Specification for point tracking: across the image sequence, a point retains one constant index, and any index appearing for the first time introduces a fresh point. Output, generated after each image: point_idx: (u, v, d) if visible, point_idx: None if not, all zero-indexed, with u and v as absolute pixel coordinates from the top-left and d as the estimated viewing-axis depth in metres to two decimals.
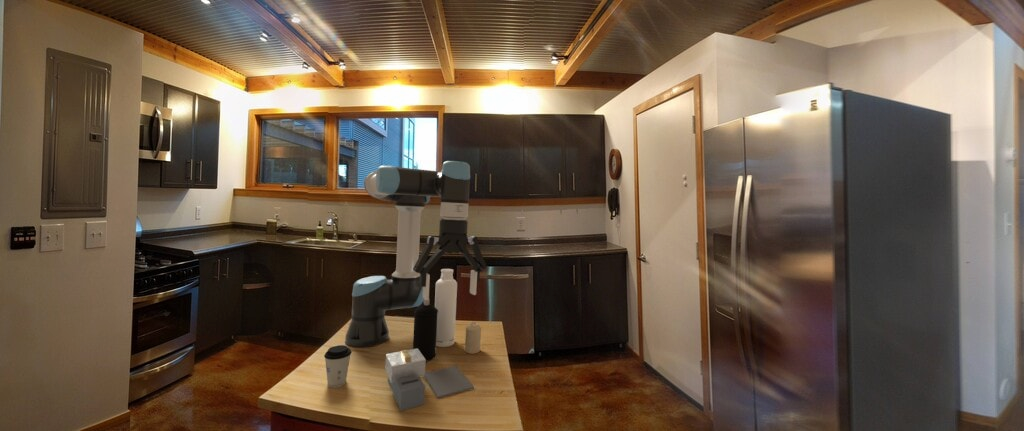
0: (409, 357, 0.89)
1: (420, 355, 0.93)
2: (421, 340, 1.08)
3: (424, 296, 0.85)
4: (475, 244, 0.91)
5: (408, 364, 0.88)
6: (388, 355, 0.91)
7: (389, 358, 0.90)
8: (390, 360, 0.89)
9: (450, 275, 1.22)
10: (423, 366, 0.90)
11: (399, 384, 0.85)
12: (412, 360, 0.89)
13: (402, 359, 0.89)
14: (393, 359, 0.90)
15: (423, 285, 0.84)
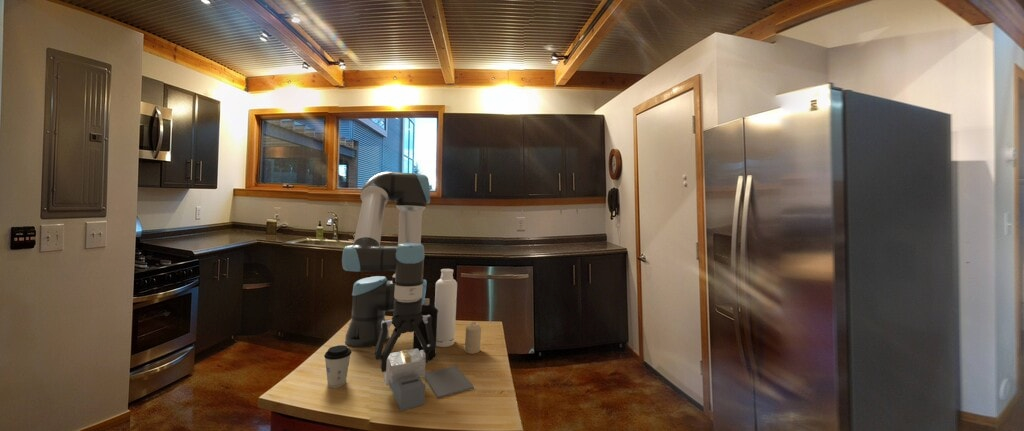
0: (409, 357, 0.89)
1: (420, 355, 0.93)
2: None
3: (385, 380, 0.88)
4: (429, 324, 0.93)
5: (408, 364, 0.88)
6: None
7: (389, 358, 0.90)
8: (390, 360, 0.89)
9: (450, 275, 1.22)
10: (423, 366, 0.90)
11: (399, 384, 0.85)
12: (412, 360, 0.89)
13: (402, 359, 0.90)
14: (393, 359, 0.90)
15: (383, 370, 0.88)
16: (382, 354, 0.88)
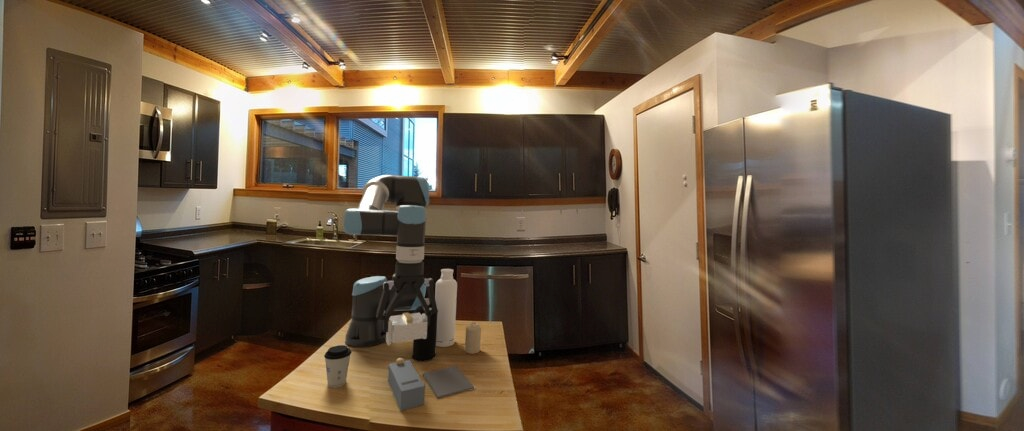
0: (411, 318, 0.89)
1: (422, 317, 0.93)
2: (421, 340, 1.08)
3: (386, 341, 0.88)
4: (430, 287, 0.93)
5: (410, 325, 0.88)
6: (390, 317, 0.91)
7: (391, 320, 0.90)
8: (392, 321, 0.89)
9: (450, 275, 1.22)
10: (425, 328, 0.90)
11: (399, 384, 0.85)
12: (414, 322, 0.89)
13: (404, 321, 0.89)
14: (395, 320, 0.89)
15: (385, 331, 0.88)
16: (384, 315, 0.88)
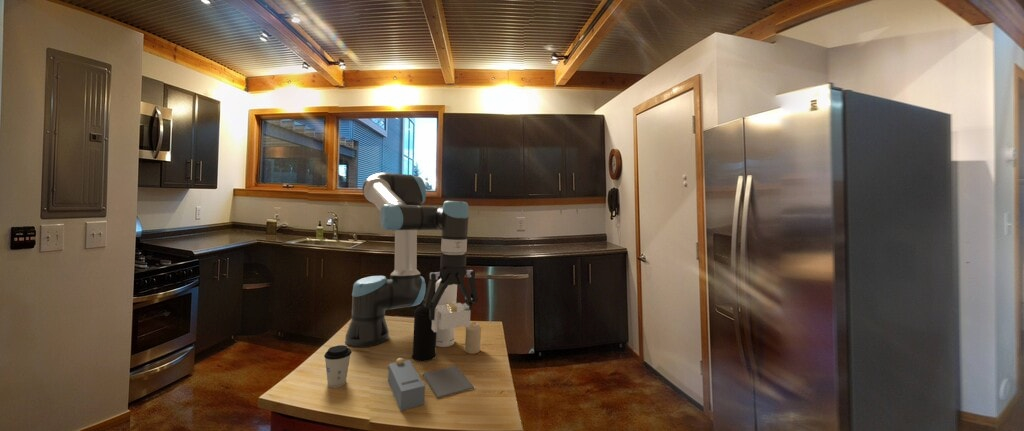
0: (455, 307, 0.95)
1: (464, 307, 0.98)
2: (421, 340, 1.08)
3: (433, 328, 0.94)
4: (472, 278, 0.99)
5: (455, 313, 0.93)
6: None
7: None
8: (438, 310, 0.94)
9: None
10: (468, 316, 0.95)
11: (399, 384, 0.85)
12: (458, 310, 0.94)
13: (449, 309, 0.95)
14: (440, 309, 0.95)
15: (432, 319, 0.93)
16: (431, 304, 0.93)
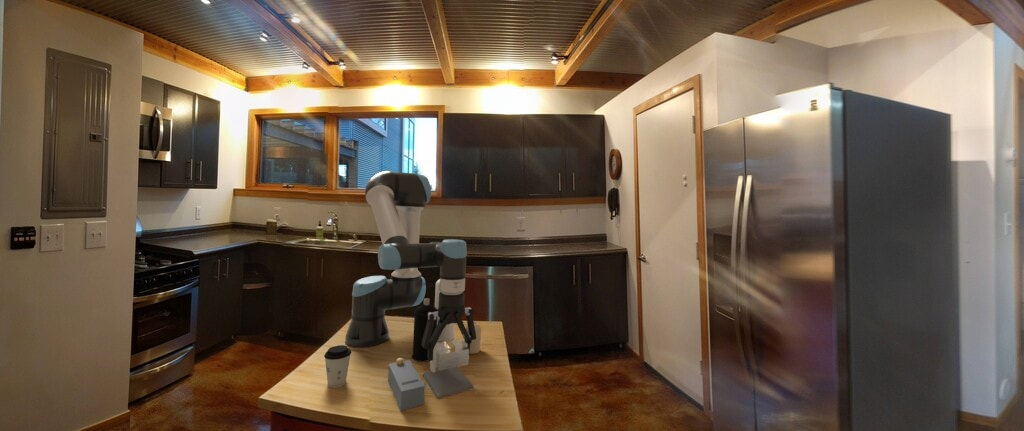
0: (454, 347, 0.95)
1: (463, 345, 0.98)
2: (421, 340, 1.08)
3: (431, 368, 0.94)
4: (470, 316, 0.99)
5: (453, 353, 0.93)
6: None
7: (435, 348, 0.95)
8: (436, 349, 0.94)
9: None
10: (466, 355, 0.95)
11: (399, 384, 0.85)
12: (456, 350, 0.95)
13: (447, 349, 0.95)
14: (439, 348, 0.95)
15: (430, 359, 0.93)
16: (429, 344, 0.93)
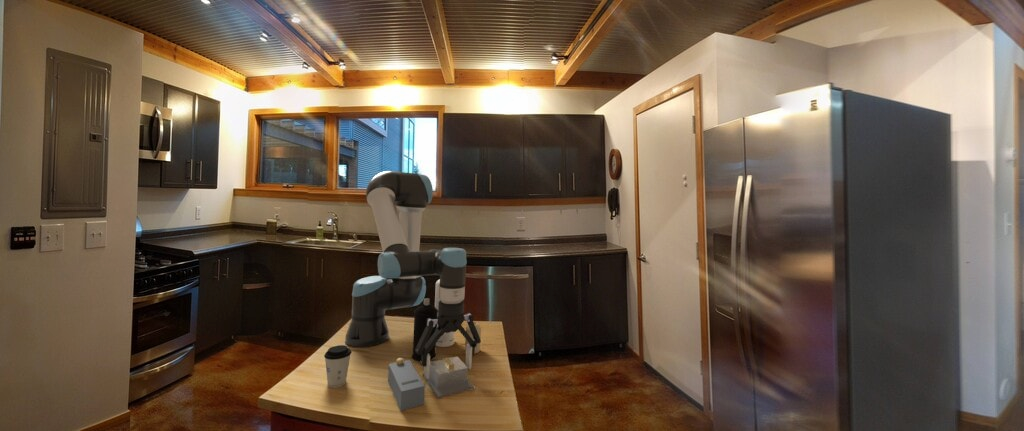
0: (452, 365, 0.95)
1: (462, 363, 0.98)
2: None
3: (425, 374, 0.93)
4: (471, 322, 0.99)
5: (452, 372, 0.93)
6: (432, 363, 0.97)
7: (433, 366, 0.95)
8: (435, 368, 0.94)
9: None
10: (465, 374, 0.96)
11: (399, 384, 0.85)
12: (455, 368, 0.95)
13: (446, 367, 0.95)
14: (438, 367, 0.95)
15: (424, 365, 0.92)
16: (423, 349, 0.93)
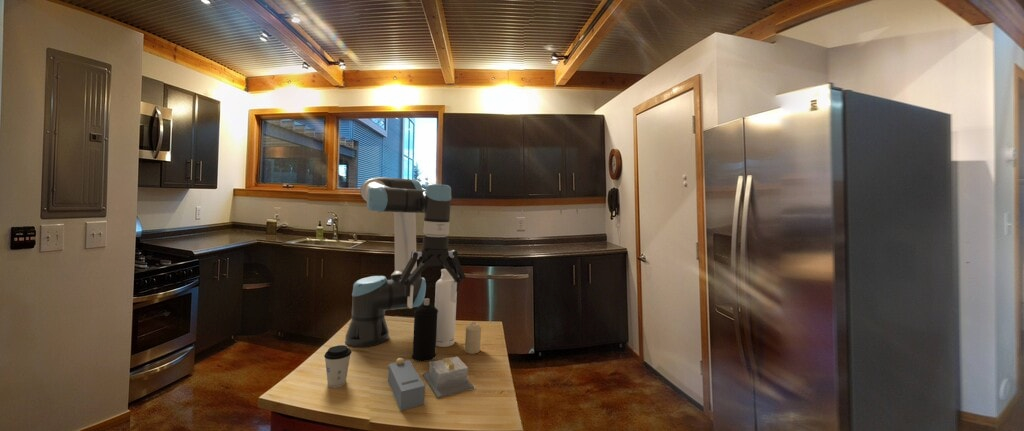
0: (452, 365, 0.95)
1: (462, 363, 0.98)
2: (421, 340, 1.08)
3: (408, 305, 0.95)
4: (455, 257, 1.01)
5: (452, 372, 0.93)
6: (432, 363, 0.97)
7: (433, 366, 0.95)
8: (435, 368, 0.94)
9: (450, 275, 1.22)
10: (465, 374, 0.96)
11: (399, 384, 0.85)
12: (455, 368, 0.95)
13: (446, 367, 0.95)
14: (438, 367, 0.95)
15: (407, 295, 0.94)
16: (407, 280, 0.94)
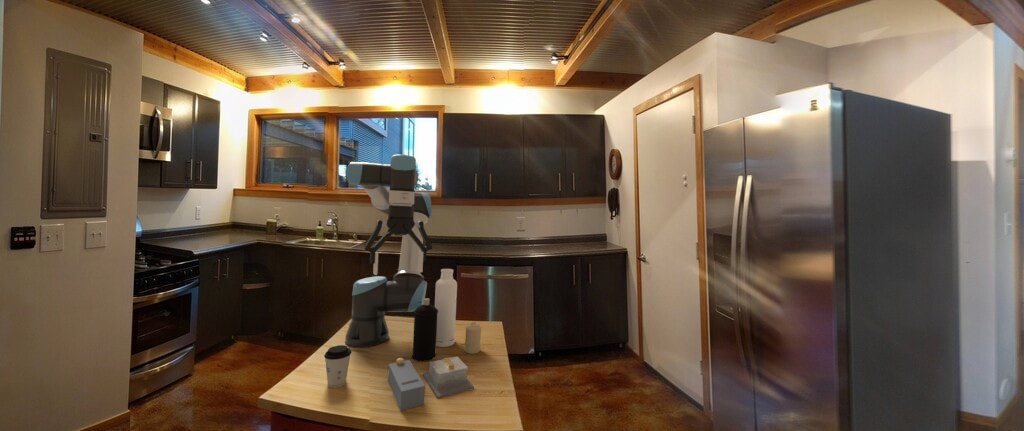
0: (452, 365, 0.95)
1: (462, 363, 0.98)
2: (421, 340, 1.08)
3: (374, 272, 0.98)
4: (421, 228, 1.04)
5: (452, 372, 0.93)
6: (432, 363, 0.97)
7: (433, 366, 0.95)
8: (435, 368, 0.94)
9: (450, 275, 1.22)
10: (465, 374, 0.96)
11: (399, 384, 0.85)
12: (455, 368, 0.95)
13: (446, 367, 0.95)
14: (438, 367, 0.95)
15: (372, 262, 0.97)
16: (372, 247, 0.97)
